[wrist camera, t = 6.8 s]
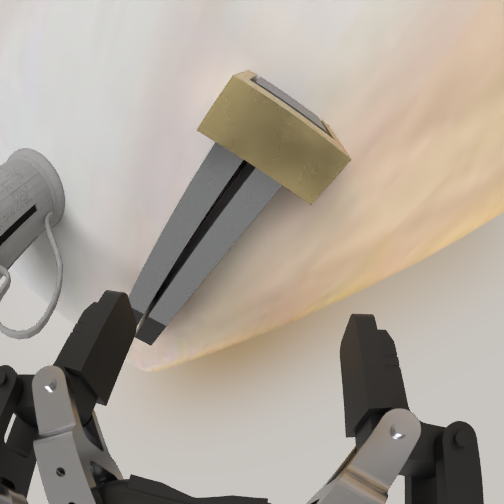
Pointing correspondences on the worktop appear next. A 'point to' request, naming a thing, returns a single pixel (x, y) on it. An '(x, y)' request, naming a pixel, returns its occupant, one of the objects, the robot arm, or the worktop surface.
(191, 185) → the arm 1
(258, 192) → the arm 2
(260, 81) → the plate
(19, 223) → the glass holder
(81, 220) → the worktop surface
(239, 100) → the tan framed block
